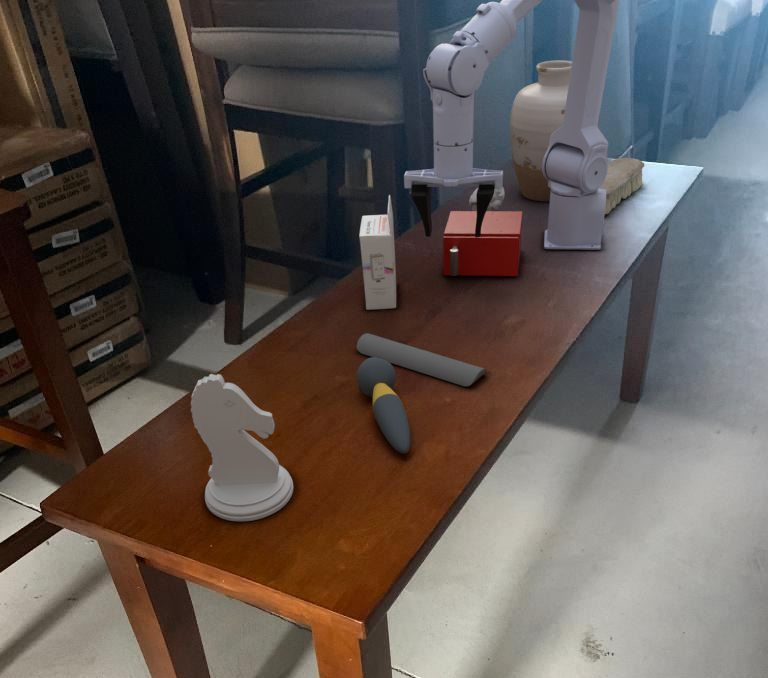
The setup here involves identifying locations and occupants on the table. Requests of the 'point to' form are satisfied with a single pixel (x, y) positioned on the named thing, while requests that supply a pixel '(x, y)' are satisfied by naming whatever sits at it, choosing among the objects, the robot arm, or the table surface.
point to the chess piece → (238, 453)
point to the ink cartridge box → (378, 260)
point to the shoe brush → (621, 180)
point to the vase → (538, 125)
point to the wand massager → (385, 401)
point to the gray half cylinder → (419, 360)
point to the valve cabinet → (486, 226)
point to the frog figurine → (495, 201)
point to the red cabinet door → (480, 255)
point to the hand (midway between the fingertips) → (453, 234)
